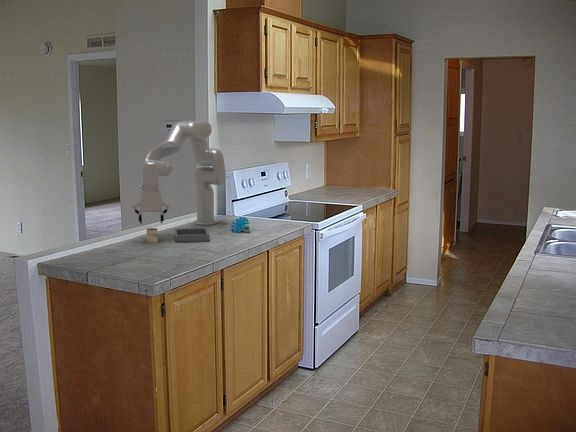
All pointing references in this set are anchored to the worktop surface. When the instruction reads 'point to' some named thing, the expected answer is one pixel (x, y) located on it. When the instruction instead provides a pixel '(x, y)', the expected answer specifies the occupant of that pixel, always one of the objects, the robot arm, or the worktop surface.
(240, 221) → the gear
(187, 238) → the tray
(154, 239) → the maple block
